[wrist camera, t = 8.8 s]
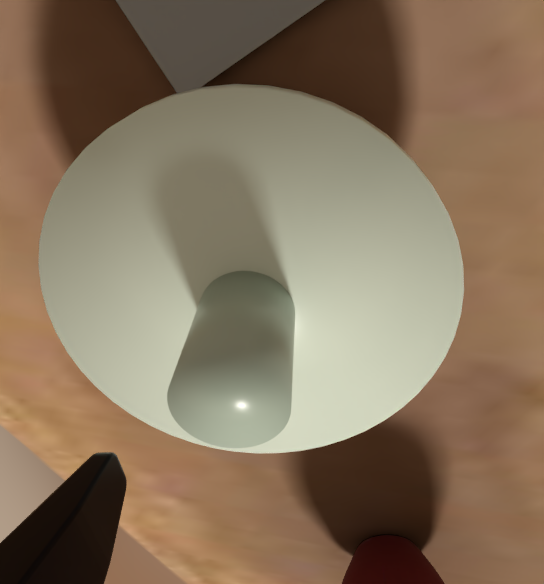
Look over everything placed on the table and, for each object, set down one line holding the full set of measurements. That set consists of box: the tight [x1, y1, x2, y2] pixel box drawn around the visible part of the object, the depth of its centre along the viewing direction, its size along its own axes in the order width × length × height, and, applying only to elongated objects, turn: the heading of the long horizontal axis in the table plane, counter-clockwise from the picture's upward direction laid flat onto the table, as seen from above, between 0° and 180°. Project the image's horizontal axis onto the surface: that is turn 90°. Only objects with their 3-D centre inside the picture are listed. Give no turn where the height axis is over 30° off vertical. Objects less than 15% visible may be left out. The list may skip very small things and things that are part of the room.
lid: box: [39, 84, 464, 453], centre depth 13 cm, size 13×13×5 cm
